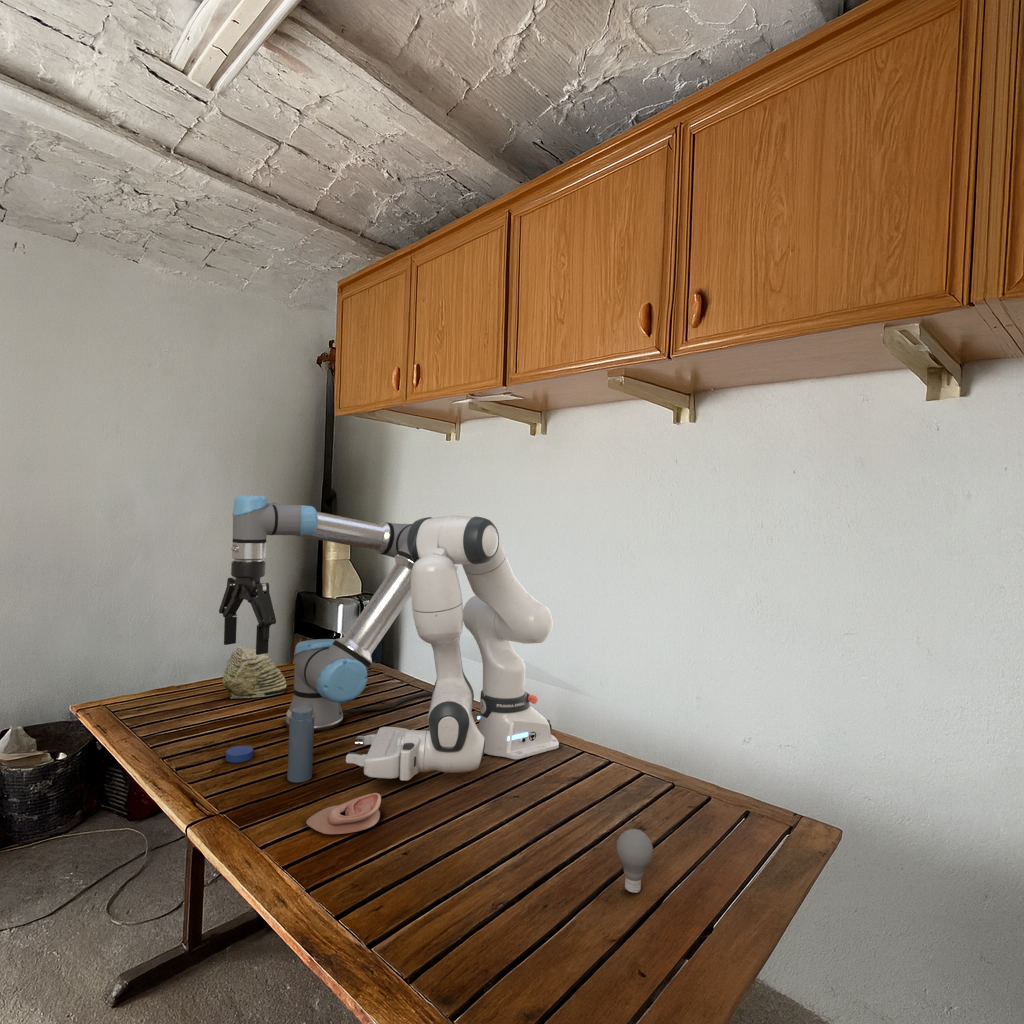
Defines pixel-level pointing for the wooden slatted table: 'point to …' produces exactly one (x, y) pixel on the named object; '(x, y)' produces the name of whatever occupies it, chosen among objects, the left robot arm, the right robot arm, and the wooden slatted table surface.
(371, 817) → the anatomical model
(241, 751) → the lid
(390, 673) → the wooden slatted table surface
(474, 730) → the right robot arm
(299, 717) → the jar
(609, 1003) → the wooden slatted table surface
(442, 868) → the wooden slatted table surface
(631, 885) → the light bulb
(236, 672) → the fossil
